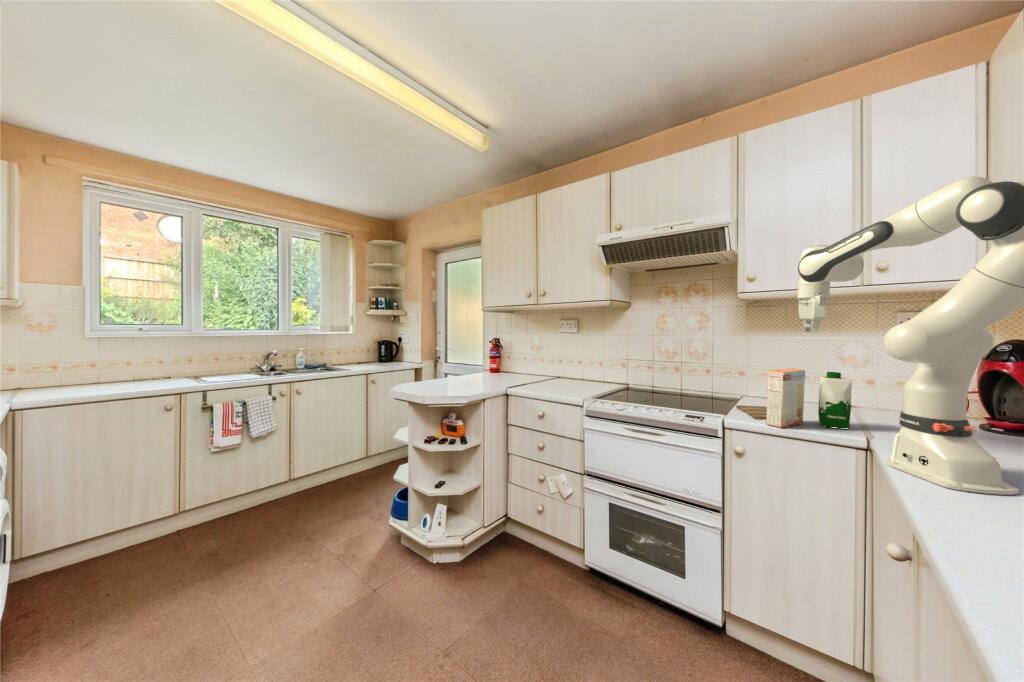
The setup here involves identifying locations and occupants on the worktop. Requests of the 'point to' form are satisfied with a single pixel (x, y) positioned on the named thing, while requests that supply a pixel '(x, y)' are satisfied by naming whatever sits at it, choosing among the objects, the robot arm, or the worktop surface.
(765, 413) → the walnut board
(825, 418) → the milk carton
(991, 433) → the worktop surface
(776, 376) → the cracker box
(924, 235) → the robot arm
